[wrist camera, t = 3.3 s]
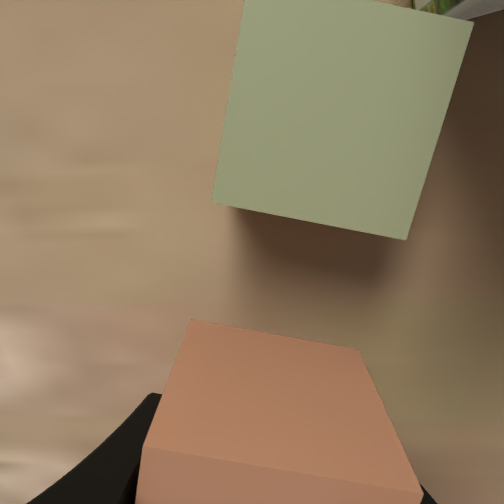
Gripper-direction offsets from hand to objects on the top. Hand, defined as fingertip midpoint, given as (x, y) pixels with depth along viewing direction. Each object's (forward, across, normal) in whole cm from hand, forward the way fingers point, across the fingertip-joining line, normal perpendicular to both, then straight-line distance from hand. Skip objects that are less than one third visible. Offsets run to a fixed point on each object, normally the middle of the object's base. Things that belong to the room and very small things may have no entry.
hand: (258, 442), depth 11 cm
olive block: (+6, 0, -9) cm, 10 cm away
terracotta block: (+2, 0, 0) cm, 2 cm away
